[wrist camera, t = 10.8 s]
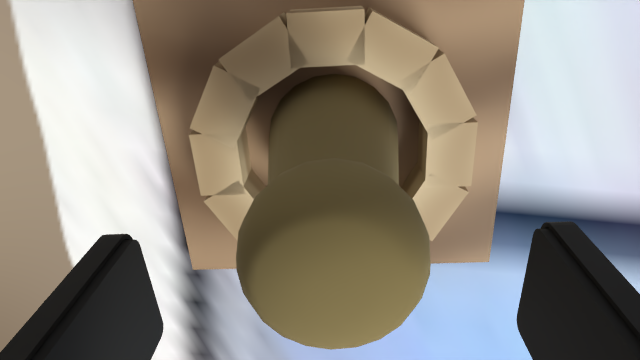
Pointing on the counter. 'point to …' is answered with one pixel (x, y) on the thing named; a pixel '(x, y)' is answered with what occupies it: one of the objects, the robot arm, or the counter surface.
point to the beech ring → (334, 50)
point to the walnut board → (267, 4)
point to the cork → (333, 221)
